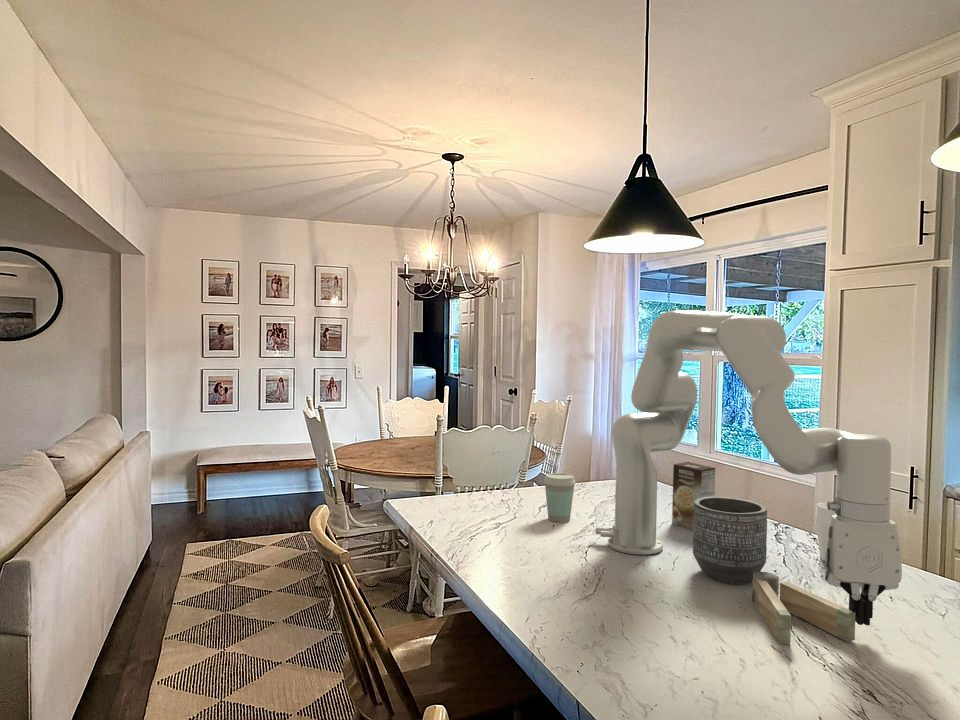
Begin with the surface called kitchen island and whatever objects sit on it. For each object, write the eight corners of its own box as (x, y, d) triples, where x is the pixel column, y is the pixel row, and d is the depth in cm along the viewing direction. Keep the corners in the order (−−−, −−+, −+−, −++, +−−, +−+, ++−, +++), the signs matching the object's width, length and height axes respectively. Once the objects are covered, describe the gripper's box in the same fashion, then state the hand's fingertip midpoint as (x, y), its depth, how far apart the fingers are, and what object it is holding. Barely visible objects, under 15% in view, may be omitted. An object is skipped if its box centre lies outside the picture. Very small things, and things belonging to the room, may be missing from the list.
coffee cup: (579, 518, 173) (580, 474, 172) (566, 526, 166) (567, 480, 165) (551, 513, 177) (552, 471, 177) (537, 520, 170) (538, 476, 170)
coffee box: (670, 523, 169) (671, 463, 169) (685, 519, 173) (687, 461, 172) (699, 532, 161) (700, 469, 161) (715, 528, 165) (716, 467, 165)
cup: (867, 569, 136) (868, 513, 136) (821, 565, 138) (823, 511, 137) (851, 555, 145) (853, 503, 145) (808, 552, 147) (810, 500, 146)
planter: (760, 594, 122) (761, 517, 121) (684, 579, 129) (686, 506, 129) (770, 572, 134) (772, 502, 133) (700, 559, 141) (702, 492, 141)
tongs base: (778, 644, 102) (779, 613, 101) (749, 596, 120) (750, 570, 120) (807, 646, 101) (808, 615, 101) (774, 598, 120) (775, 572, 119)
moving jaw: (847, 641, 102) (848, 614, 102) (779, 607, 115) (780, 582, 115) (854, 640, 102) (855, 612, 102) (786, 605, 116) (786, 581, 116)
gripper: (821, 514, 101) (819, 627, 101) (925, 519, 98) (922, 635, 99) (805, 502, 108) (804, 608, 109) (901, 507, 106) (899, 615, 106)
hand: (860, 621), depth 104 cm, fingers closed
